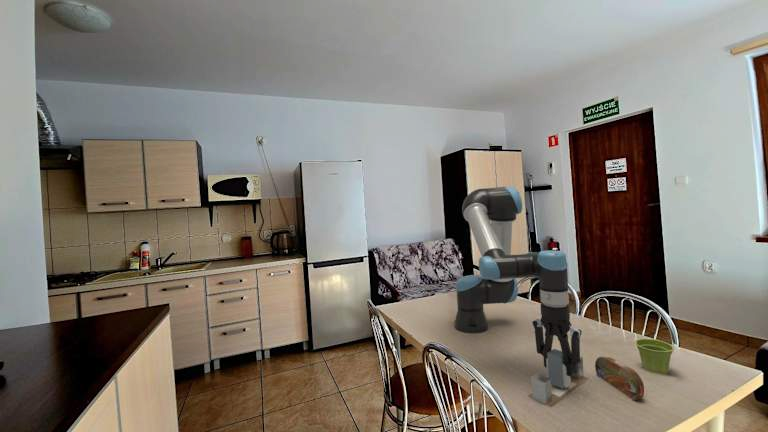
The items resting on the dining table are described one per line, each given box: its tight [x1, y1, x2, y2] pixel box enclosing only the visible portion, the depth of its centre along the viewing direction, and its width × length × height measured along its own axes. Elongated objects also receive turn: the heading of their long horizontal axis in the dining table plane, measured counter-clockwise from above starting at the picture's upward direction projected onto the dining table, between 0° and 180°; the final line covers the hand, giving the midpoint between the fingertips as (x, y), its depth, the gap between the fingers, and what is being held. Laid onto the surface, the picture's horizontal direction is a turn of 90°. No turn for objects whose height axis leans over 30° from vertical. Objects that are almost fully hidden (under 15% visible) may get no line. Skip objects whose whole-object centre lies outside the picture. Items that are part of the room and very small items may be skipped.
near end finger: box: [530, 373, 552, 406], centre depth 90 cm, size 4×4×6 cm
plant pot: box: [634, 338, 675, 376], centre depth 102 cm, size 9×9×9 cm
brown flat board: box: [527, 376, 590, 408], centre depth 95 cm, size 7×22×1 cm, turn 125°
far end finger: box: [570, 356, 585, 380], centre depth 100 cm, size 4×4×6 cm
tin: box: [594, 356, 645, 401], centre depth 93 cm, size 15×3×8 cm, turn 5°
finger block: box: [547, 348, 565, 388], centre depth 95 cm, size 4×5×9 cm
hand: (558, 382), depth 95 cm, fingers closed on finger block, 4 cm apart
